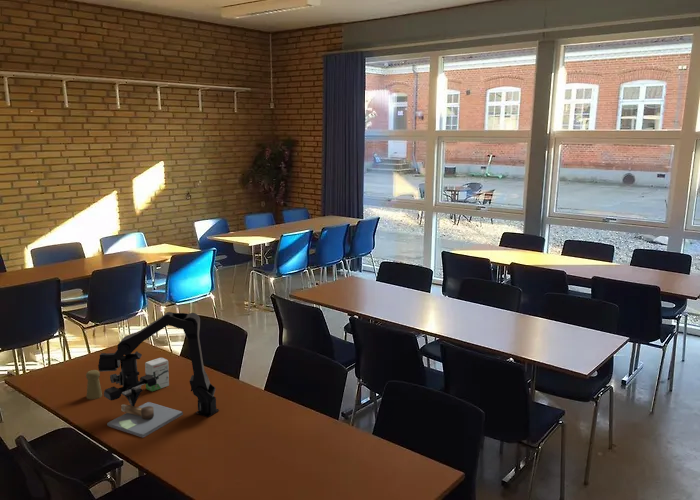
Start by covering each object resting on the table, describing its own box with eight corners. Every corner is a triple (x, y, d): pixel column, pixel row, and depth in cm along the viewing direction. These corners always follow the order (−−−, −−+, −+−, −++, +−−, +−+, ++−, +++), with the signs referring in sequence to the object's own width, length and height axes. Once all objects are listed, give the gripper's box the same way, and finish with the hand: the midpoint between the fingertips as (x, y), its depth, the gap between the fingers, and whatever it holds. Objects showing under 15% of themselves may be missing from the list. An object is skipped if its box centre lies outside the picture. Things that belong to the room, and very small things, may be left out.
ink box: (152, 392, 240) (150, 365, 238) (145, 388, 243) (144, 362, 241) (169, 385, 247) (168, 359, 244) (163, 382, 250) (161, 356, 247)
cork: (105, 393, 238) (103, 368, 236) (97, 399, 232) (95, 374, 230) (91, 392, 238) (89, 367, 236) (83, 398, 232) (81, 373, 230)
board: (182, 414, 221) (182, 411, 220) (143, 437, 203) (142, 434, 203) (148, 404, 228) (148, 401, 228) (107, 426, 211) (107, 422, 210)
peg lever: (156, 414, 216) (156, 407, 216) (148, 420, 212) (148, 412, 212) (126, 408, 221) (126, 400, 221) (118, 413, 217) (117, 405, 216)
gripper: (141, 356, 228) (144, 393, 231) (95, 371, 214) (99, 409, 218) (156, 364, 221) (159, 401, 224) (109, 379, 207) (113, 419, 210)
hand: (132, 407), depth 219 cm, fingers closed
